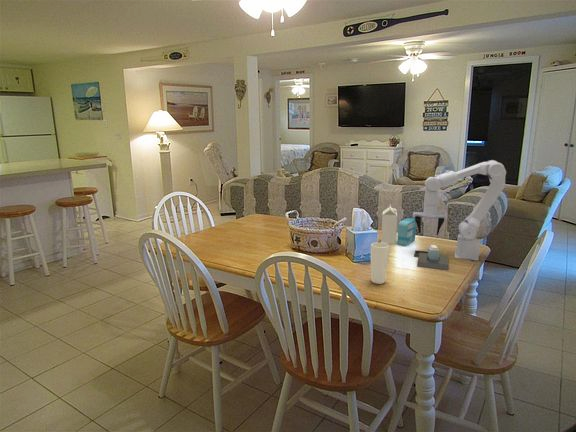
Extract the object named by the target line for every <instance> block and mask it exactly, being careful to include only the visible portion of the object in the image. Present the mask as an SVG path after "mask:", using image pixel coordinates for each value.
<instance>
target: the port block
mask: <svg viewBox="0 0 576 432" xmlns="http://www.w3.org/2000/svg"><path fill="white" fill-rule="evenodd" d="M427 258H428V253H420V252H419V257H417V262H416V264H417V265H416V266H417V267H418V268H426V269H427V268H428V269H434V270H435V269H437V270H443V271H444V270H445V271H448V270H449V255H446V254H439V261H434V260H427Z"/></svg>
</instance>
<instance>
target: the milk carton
mask: <svg viewBox="0 0 576 432" xmlns="http://www.w3.org/2000/svg"><path fill="white" fill-rule="evenodd" d="M381 215H382V217H381V237H380V238H381V239H380V242H382V243H386V244H388V245H397V234H398V210H397V209H396V208H395V207H392V206H391V203H390V204H389V207H387V208H385V210H383V211H382V213H381Z"/></svg>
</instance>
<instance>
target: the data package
mask: <svg viewBox="0 0 576 432" xmlns="http://www.w3.org/2000/svg"><path fill="white" fill-rule="evenodd" d="M416 230H417V223H416V221H415V218H409V217H407V218H405V219H403V220H401V221H398V223H397V238H396V245H397V246H402V247H407V246H409V245H411V244H412V243H414V242H415V241H416Z"/></svg>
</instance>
